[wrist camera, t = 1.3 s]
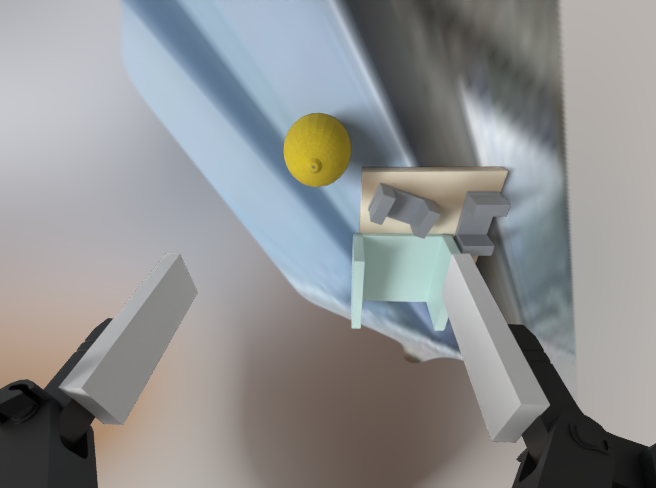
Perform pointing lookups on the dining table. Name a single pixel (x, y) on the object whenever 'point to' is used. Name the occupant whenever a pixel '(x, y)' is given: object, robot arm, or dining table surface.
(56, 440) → the robot arm
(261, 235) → the dining table surface
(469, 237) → the clip
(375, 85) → the dining table surface
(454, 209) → the board
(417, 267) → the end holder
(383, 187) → the clip
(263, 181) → the dining table surface
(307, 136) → the lemon
